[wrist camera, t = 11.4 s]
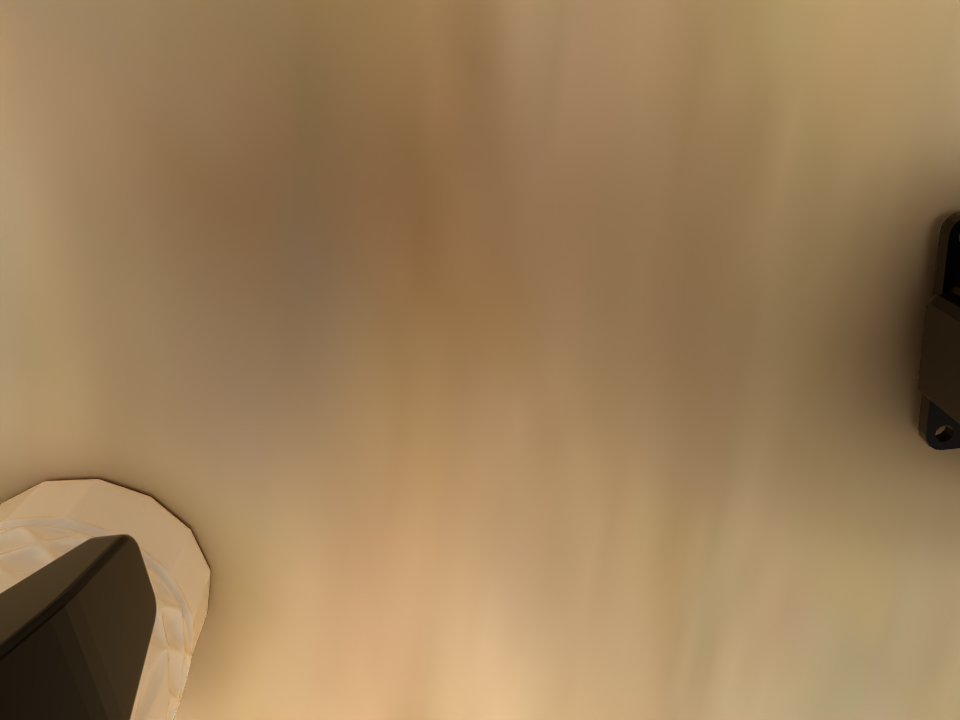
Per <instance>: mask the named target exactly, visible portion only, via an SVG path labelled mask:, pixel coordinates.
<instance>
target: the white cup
mask: <svg viewBox="0 0 960 720" xmlns="http://www.w3.org/2000/svg"><path fill="white" fill-rule="evenodd" d="M119 534H128V535H130V536H131V537H133V538H134V539H135V540H136V542H137V543H138V545H139V548H140V551H141V554H142V557H143V560H144V563H145V566H146V569H147V572H148V575H149V578H150V581H151V584H152V587H153V590H154V593H155V597H156V606H157V611H156V619H155V624H154V628H153V632H152V636H151V640H150V644H149V648H148V652H147V656H146V659H145V663H144V667H143V671H142V675H141V679H140V683H139V687H138V691H137V695H136V699H135V703H134V707H133V711H132V715H131V719H130V720H174V717H175V713H176V711H177V708H178V706H179V704H180V701H181V698H182V695H183V691H184V688H185V685H186V681H187V677H188V674H189V669H190V665H191V660H192V655H193V652H194V649H195V646H196V644H197V641H198V638H199V635H200V633H201V630H202V627H203V624H204V622H205V619H206V616H207V612H208V600H209V587H210V574H211V571H210V569H209V567H208V564H207V562H206V560H205V558H204V556H203V554H202V552H201V550H200V548H199V546H198V544H197V542H196V540H195V538H194V536H193V533H192V531H191V530H190V529H189V528H188V527H187V526H186V525H184V524H183V523H182V522H181V521H180V520H178V519H177V518H176V517H175V516H173V515H172V514H171V513H170V512H169V511H167V510H166V509H165V508H164V507H163V506H161V505H160V504H159V503H158V502H156V501H155V500H154V499H153V498H152V497H150V496H147V495H144V494H142V493H139V492H136V491H133V490H130V489H127V488H124V487H121V486H118V485H115V484H112V483H109V482H106V481H103V480H100V479H84V480H60V481H44V482H42V483H40V484H38V485H36V486H34V487H32V488H30V489H28V490H26V491H24V492H22V493H20V494H18V495H16V496H14V497H13V498H11V499H9V500H7V501H5V502H3V503H1V504H0V593H2V592H3V591H5V590H7V589H8V588H10V587H12V586H13V585H15V584H16V583H18V582H20V581H21V580H23V579H25V578H26V577H28V576H29V575H31V574H33V573H34V572H36V571H38V570H39V569H41V568H42V567H44V566H46V565H47V564H49V563H51V562H52V561H54V560H56V559H57V558H59V557H60V556H62V555H64V554H65V553H67V552H69V551H70V550H72V549H73V548H75V547H77V546H78V545H80V544H82V543H83V542H85V541H86V540H88V539H90V538H94V537H100V536H109V535H119Z"/></svg>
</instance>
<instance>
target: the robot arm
mask: <svg viewBox="0 0 960 720" xmlns="http://www.w3.org/2000/svg"><path fill="white" fill-rule="evenodd" d="M959 234H960V212H958V213H955V214H953V215H952V216H950V217H949V218H948V219H947V220H946V221H945V222H944V224H943V225H942V228H941V231H940V236H939V245H938V254H937V263H936V272H935V281H934V290H933V297H932V298H931V299H930V301H929V302H928V304H927V306H926V316H925V325H924V334H923V343H922V353H921V362H920V371H919V381H918V389H919V391H921V392H922V399H921V408H920V417H919V426H918V431H919V436H920V437H921V438H922V440H923V441H924V442H925V443H927V444H928V445H929V446H930V447H932V448H934V449H937V450H946V449H955V448H960V241H959ZM945 425H946V427H945V430H944V431H943V432H942V433H940V434H937V435H935V433H936V431H937V430H938V429H939V428H940V427H942V426H945ZM156 611H157V606H156V597H155V593H154V590H153V587H152V584H151V581H150V578H149V575H148V572H147V569H146V566H145V563H144V560H143V557H142V554H141V551H140V548H139V545H138V543H137V542H136V540H135V539H134V538H133V537H131V536H130V535H128V534H119V535H109V536H100V537H94V538H90V539H88V540H86V541H85V542H83V543H82V544H80V545H78V546H77V547H75V548H73V549H72V550H70V551H69V552H67V553H65V554H64V555H62V556H60V557H59V558H57V559H56V560H54V561H52V562H51V563H49V564H47V565H46V566H44V567H42V568H41V569H39V570H38V571H36V572H34V573H33V574H31V575H29V576H28V577H26V578H25V579H23V580H21V581H20V582H18V583H16V584H15V585H13V586H12V587H10V588H8V589H7V590H5V591H3V592H2V593H0V720H130V719H131V715H132V711H133V707H134V703H135V699H136V695H137V691H138V687H139V683H140V679H141V675H142V671H143V667H144V663H145V659H146V656H147V652H148V648H149V644H150V640H151V636H152V632H153V628H154V624H155V619H156Z"/></svg>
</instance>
